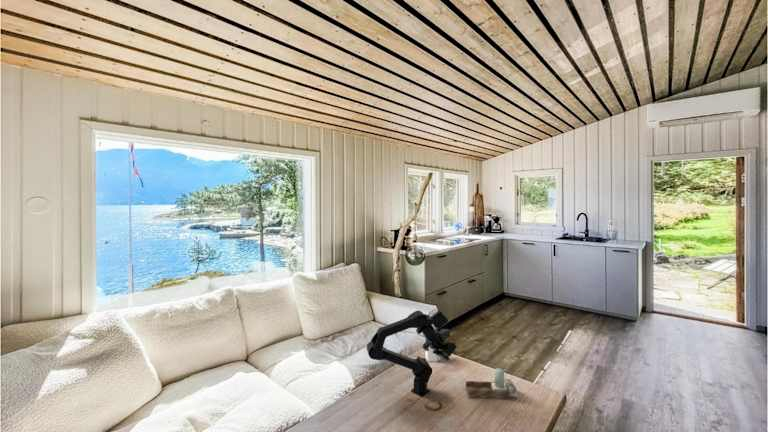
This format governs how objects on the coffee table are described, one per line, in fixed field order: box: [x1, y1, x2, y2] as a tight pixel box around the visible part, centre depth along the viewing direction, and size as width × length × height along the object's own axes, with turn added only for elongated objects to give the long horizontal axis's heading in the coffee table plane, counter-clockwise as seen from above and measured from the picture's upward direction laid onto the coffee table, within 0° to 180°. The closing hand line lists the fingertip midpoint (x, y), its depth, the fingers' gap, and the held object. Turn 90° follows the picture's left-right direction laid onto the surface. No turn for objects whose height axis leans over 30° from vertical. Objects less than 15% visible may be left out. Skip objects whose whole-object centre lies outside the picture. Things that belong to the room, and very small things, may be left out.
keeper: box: [491, 367, 508, 391], centre depth 146 cm, size 6×5×9 cm
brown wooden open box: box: [465, 378, 518, 401], centre depth 147 cm, size 21×8×5 cm, turn 86°
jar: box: [424, 340, 442, 363], centre depth 182 cm, size 9×8×12 cm
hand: (448, 360), depth 151 cm, fingers closed
